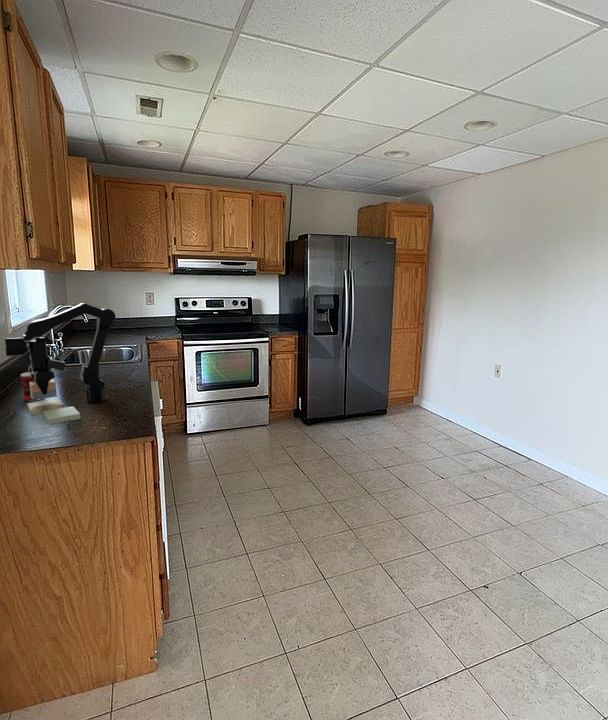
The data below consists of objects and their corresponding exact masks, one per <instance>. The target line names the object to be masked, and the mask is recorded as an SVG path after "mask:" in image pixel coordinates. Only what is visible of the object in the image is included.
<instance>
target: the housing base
mask: <svg viewBox="0 0 608 720" xmlns="http://www.w3.org/2000/svg"><path fill="white" fill-rule="evenodd" d="M30 393H31V398H32V399H33V400H37V401H39V400H38V399H41V400H43V399H44V400H45V399H49V398H51V399H52V398H56V397H58V394H57V388H56V389H54V390H47V394H46V395H43V393H42V392H41V391H40V392H33V393H32V392H31V390H30Z"/></svg>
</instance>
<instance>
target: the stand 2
mask: <svg viewBox="0 0 608 720" xmlns="http://www.w3.org/2000/svg"><path fill="white" fill-rule="evenodd" d="M42 414H43V418H44V417H45V418H44V419H45V421H46V420H47V421H46V422H47V424H48V423H49V424H50V425H55V424H54V423H56V424H60V423H59V422H61V423H64V421H66V422H70V421H69V420H71V421H75V420H81V413H80V412H79V411H78V410H77V409H76V407H75V406H68V407H67V406H66V407H64V408H60V409H54V410H48V411H43V413H42ZM49 424H48V425H49Z"/></svg>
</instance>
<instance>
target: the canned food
mask: <svg viewBox="0 0 608 720" xmlns="http://www.w3.org/2000/svg"><path fill="white" fill-rule="evenodd" d="M30 374H33V371H31V373H29V371H28V372H23V373H21V374H20V384H21V390H22V398H23V400H24V401H25V400H33V399H32V398H31V393H30V385H29V382H34V380H33V378H32V376H31V375H30Z"/></svg>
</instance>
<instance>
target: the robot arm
mask: <svg viewBox="0 0 608 720" xmlns="http://www.w3.org/2000/svg"><path fill="white" fill-rule="evenodd" d="M84 314H85V315H90V316H92V317H95V318H96V330H95V334H94V337H93V338H94V339H93V341H92V345H91V349H90V353H89V356H88V359H87V362H86V363H85V364H81V366H80V367H81V368H80V371H79V372H78V374H79V375H80V376H79V377H80V379H81V381H82V382H83V384H85V385H87V386H86V390H85V396H86V401H85V403H88V404H89V403H90V404H101V403H103V402H105V401H107V400H108V399H109V398H108V397H106V396H107V395H106V386H105V384H106V383H105V382H104V380H102V379H101V378H100V377H99V376H100V375H99V374H100V369H99V368H100V366H99V364H100V361H101V357H102V354H103V350H104V346H105V343H106V339H107V336H108V335H107V334H108V332H109V331H110V329H111V327H112V326H113V324H114V322H115V319H116V313H115V312H114V311H113V310H112V309H110V308H107V307H103V308H99V307H95V306H93V305H91V304H88V303H85V302H81V303H79V304H78V305H75V306H73V307H70V308H69V309H65V310H63V311H61V312H59V313H56V314H54V315H52V316H48V317H44V318H38V319H35V320H31V321H29V322H28V323H27V324H26V331H25V332H24V333H23V334H22V336H21V337H5V338H4V342H5V349H4V350H5V354H6V358H7V357H19V356H25V354H26V353H28V352H29V359H30V365H29V366H28V368H27V369H28V372H29V373H31V372H33V374H30V375H31V376H32V378H33V380H34V381H35V382H36V383H37V385H38V387H39V388H40V390H41V392H42V393H43V395H46V394H47V389H48V383H49V381H50V380H51V379H53V380H54V379H55V377H56V376H55V372H54V371H52V369H56V370H60V371H63V372H64V371H65V368H66V361H64V360H61V358H60V357H58V356H54V357H53V358H51V357H50V356H49V355H48V347H47V346H48V345H47V343H49V342H50V343H51V342H52V341H53V339H52V338H50V337H48V335H47V333H48V332H50V331H51V330H53V329H54V328H56V327H57V326H60V325H62V324H65V323H66V322H69V321H71V320H73V319H75V318H78V317H80V316H82V315H84ZM42 336H43V337H42ZM28 348H29V351H28Z"/></svg>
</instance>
